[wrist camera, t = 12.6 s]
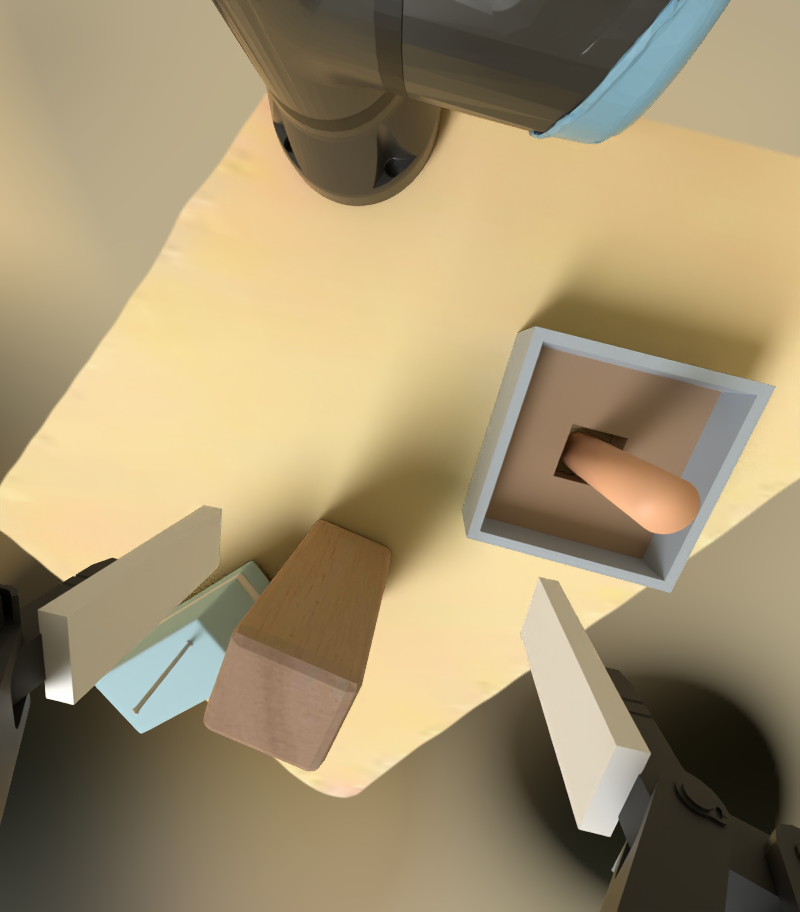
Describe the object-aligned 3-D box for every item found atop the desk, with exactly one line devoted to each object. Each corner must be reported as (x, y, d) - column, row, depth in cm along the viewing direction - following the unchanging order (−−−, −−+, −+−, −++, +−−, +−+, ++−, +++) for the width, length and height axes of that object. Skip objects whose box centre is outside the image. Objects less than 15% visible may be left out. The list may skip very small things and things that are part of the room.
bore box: (517, 332, 38) (535, 326, 31) (713, 382, 37) (775, 386, 30) (461, 510, 43) (466, 537, 36) (633, 555, 42) (670, 592, 35)
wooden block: (293, 580, 47) (194, 731, 28) (319, 514, 45) (229, 629, 25) (365, 611, 47) (316, 782, 28) (395, 547, 45) (364, 687, 25)
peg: (566, 428, 39) (649, 470, 24) (603, 437, 39) (711, 486, 24) (553, 463, 40) (625, 525, 25) (589, 472, 40) (684, 540, 25)
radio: (211, 658, 52) (76, 834, 32) (169, 609, 50) (3, 763, 31) (298, 608, 48) (206, 772, 29) (256, 555, 47) (130, 689, 28)
